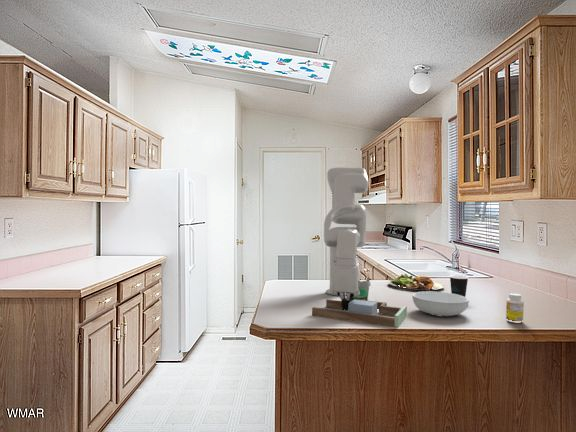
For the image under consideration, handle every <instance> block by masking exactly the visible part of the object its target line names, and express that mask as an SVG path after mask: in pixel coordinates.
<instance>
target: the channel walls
mask: <svg viewBox="0 0 576 432" xmlns="http://www.w3.org/2000/svg"><path fill="white" fill-rule="evenodd" d="M363 301H366V300H363ZM371 301H372V302H377V309H379V313H382V314H379V313H378V314H379V315H378V314H377V315H372V314H364V313H356V312H348V310H347V311H345V310H342V307H341V300H334V299H326V300H325V308H323V307H316V306H313V307H311V317H318V318H326V319H333V320H340V321H349V322H357V323H363V324H370V323H371V324H372V325H378V324H379V325H378V326H385V325H386V326H387V327H395V316H393V315H396V314H397V312H398V311H399V310H400V309H401V308H402V307H396V306H388V305H387V303H388V302H382V301H377V300H375V301H373V300H371ZM385 314H391V315H390V316H389V315H385ZM395 328H396V327H395Z"/></svg>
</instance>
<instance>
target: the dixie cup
mask: <svg viewBox="0 0 576 432" xmlns="http://www.w3.org/2000/svg"><path fill="white" fill-rule="evenodd" d="M448 277H449V279H450V293H452V294H457V295H461V296H464V297H466V294H467V287H468V280H469V277H468V276H466V275H459V274H456V275H455V274H453V275H449V276H448Z"/></svg>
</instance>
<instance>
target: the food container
mask: <svg viewBox="0 0 576 432" xmlns="http://www.w3.org/2000/svg"><path fill="white" fill-rule="evenodd" d="M371 286H372V285H371V281H370V279H368V278H366V280H364V281H362V280H360V290H359V292H360V295H359V296H353V297H352V298H351V299H350V302H351V301H353V300H366V301H369V299H368V298H369V290H370V287H371ZM345 297H347V293H346V296H345Z"/></svg>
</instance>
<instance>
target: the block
mask: <svg viewBox="0 0 576 432" xmlns="http://www.w3.org/2000/svg"><path fill="white" fill-rule="evenodd" d="M372 301H373V300H368V301H363V300H353V301H351V302H350V303H349V307H348V310H347V311H348V312H356V313H364V314H372V315H378V313H377V302H378V301H376V302H372Z"/></svg>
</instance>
